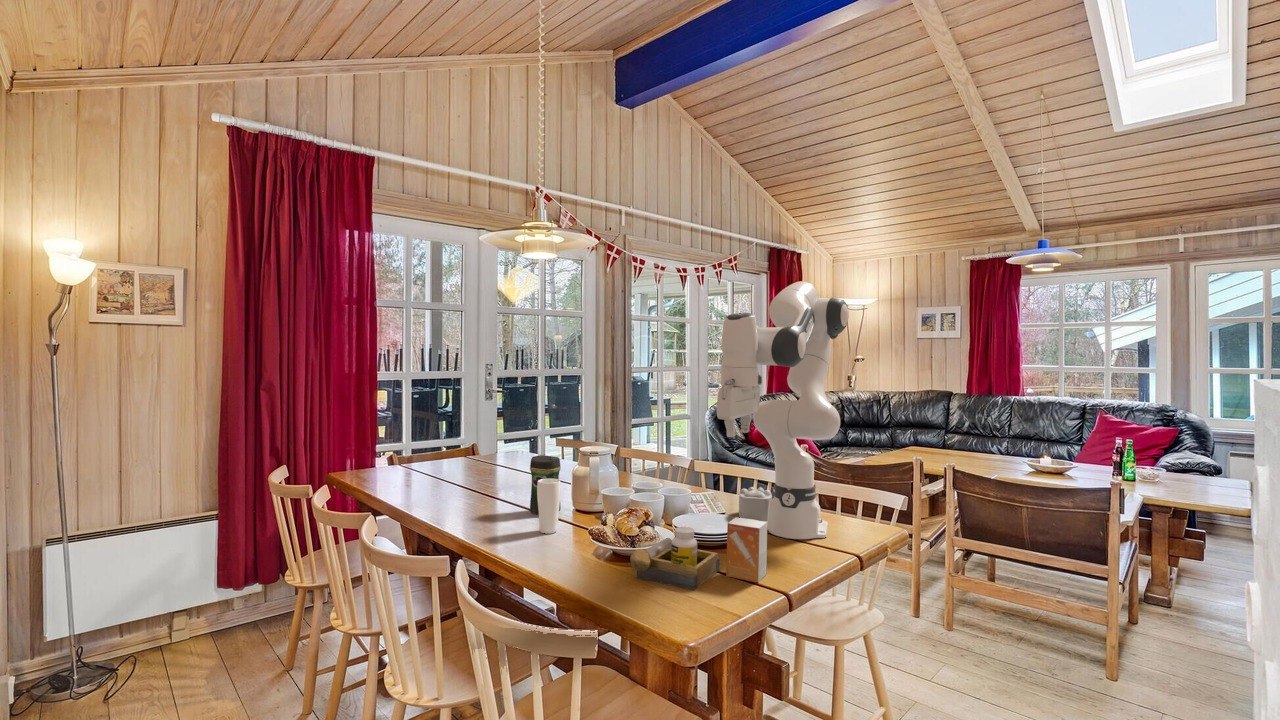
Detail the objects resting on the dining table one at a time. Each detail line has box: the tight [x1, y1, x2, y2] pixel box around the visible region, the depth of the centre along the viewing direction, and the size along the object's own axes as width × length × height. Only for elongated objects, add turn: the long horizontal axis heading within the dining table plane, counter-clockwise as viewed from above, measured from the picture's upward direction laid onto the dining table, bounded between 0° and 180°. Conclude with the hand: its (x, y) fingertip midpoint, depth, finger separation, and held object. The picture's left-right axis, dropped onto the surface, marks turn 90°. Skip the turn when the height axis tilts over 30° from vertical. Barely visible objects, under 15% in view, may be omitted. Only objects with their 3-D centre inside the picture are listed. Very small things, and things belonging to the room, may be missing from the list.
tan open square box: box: [629, 537, 721, 591], centre depth 149 cm, size 16×16×7 cm
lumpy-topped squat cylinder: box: [738, 486, 773, 522], centre depth 201 cm, size 10×13×9 cm
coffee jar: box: [529, 454, 562, 515], centre depth 202 cm, size 10×8×19 cm
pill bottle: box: [671, 526, 698, 566], centre depth 148 cm, size 6×6×11 cm
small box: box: [725, 516, 768, 583], centre depth 148 cm, size 8×6×13 cm
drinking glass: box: [537, 478, 562, 535], centre depth 182 cm, size 7×7×15 cm
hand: (738, 434), depth 153 cm, fingers open, 8 cm apart
